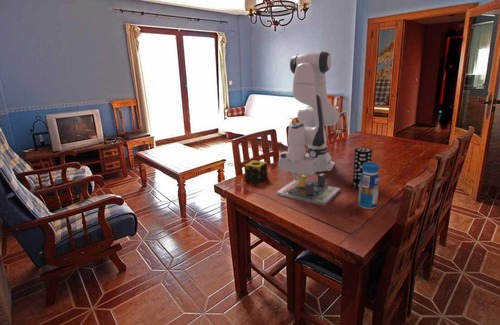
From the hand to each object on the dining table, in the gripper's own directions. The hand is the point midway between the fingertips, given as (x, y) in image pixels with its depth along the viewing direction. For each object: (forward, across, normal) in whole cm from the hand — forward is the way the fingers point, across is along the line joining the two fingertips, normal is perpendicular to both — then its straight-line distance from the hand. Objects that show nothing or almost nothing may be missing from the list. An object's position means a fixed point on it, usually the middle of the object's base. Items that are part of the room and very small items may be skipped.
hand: (296, 180), depth 152 cm
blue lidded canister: (+6, -36, -1) cm, 36 cm away
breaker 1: (+2, -3, 0) cm, 4 cm away
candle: (+6, +28, -3) cm, 29 cm away
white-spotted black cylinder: (+6, -26, -22) cm, 35 cm away
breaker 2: (+2, -11, +7) cm, 13 cm away
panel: (+6, -7, 0) cm, 9 cm away
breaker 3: (+2, -11, -7) cm, 13 cm away
